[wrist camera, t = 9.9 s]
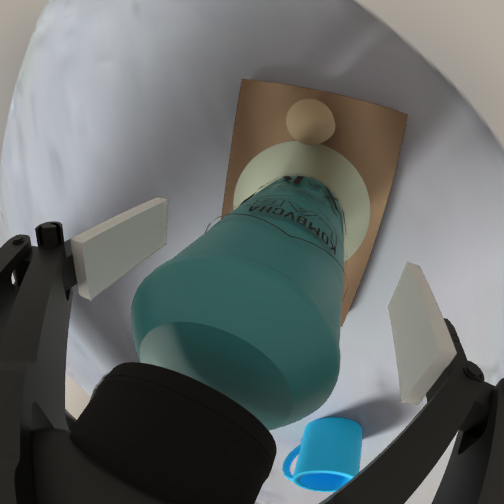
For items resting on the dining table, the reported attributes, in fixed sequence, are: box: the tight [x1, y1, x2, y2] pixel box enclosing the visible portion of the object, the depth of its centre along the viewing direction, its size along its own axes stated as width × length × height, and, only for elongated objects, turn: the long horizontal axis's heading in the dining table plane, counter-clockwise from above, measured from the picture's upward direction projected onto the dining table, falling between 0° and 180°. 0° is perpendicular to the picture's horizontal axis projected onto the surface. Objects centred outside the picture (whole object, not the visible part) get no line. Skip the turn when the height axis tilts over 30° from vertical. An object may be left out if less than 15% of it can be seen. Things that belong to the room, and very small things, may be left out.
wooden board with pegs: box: [221, 79, 407, 327], centre depth 19 cm, size 12×18×8 cm, turn 171°
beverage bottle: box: [70, 173, 348, 504], centre depth 12 cm, size 6×7×20 cm
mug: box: [282, 417, 363, 492], centre depth 30 cm, size 12×8×8 cm
